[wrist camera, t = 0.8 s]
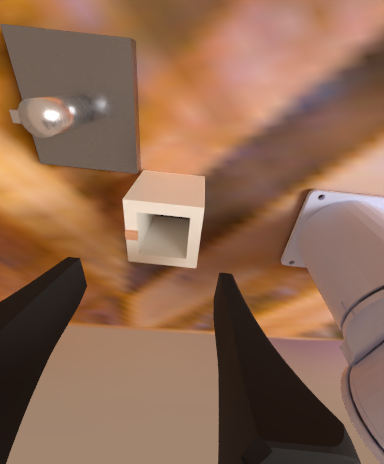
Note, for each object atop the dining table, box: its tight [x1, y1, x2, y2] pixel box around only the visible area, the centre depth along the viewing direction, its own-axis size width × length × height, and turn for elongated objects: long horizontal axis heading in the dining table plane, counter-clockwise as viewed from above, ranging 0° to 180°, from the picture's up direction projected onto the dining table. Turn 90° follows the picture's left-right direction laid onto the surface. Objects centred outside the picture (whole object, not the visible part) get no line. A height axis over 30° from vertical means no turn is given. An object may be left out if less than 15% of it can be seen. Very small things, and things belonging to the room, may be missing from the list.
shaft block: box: [0, 24, 141, 174], centre depth 14 cm, size 8×8×6 cm
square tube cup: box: [123, 170, 205, 268], centre depth 17 cm, size 5×5×6 cm
